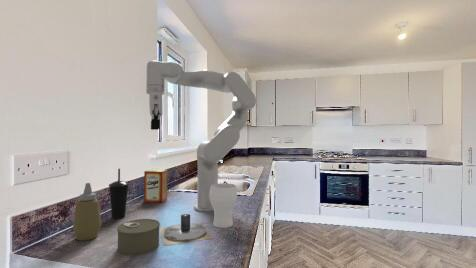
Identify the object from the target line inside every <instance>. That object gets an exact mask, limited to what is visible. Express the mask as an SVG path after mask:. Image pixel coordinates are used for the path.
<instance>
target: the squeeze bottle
mask: <svg viewBox="0 0 476 268" xmlns="http://www.w3.org/2000/svg"><path fill="white" fill-rule="evenodd" d="M101 226H102V220H101V210H100V201H99V200H98V199H97V193H96V192H93V190H92V185H91V182H86V183H85V185H84V189H83V193H80V194H79V200H78V201H77V202H76V203H75V210H74V218H73V226H72V229H73V232H74V235H75V238H76V239H77V241H82V242H83V241H89V240H92V239H95V238H97V236H98V235H99V232H100V230H101Z"/></svg>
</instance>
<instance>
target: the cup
mask: <svg viewBox="0 0 476 268" xmlns="http://www.w3.org/2000/svg"><path fill="white" fill-rule="evenodd" d="M237 190H238V189H237V186H236V184H234V183H226V182H225V183H224V182H223V183H218V184H213V185H211V189H210V202H211V205H212V207H213V209H214V211H213V215H214V216H213V221H212V222H213V223H212V225H213V226H214V227H216V228H225V229H226V228H230V227H232V226H233V225H234V220H233V211H234V207H235V205H236V203H237V199H238V191H237Z"/></svg>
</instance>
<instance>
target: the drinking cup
mask: <svg viewBox="0 0 476 268" xmlns="http://www.w3.org/2000/svg"><path fill="white" fill-rule="evenodd" d="M117 172H118V173H117V180H116V181H112V182H111V183H108V187H109V195H110V196H109V197H110V209H111V218H112V219H123V218H124V217H125V216H126V209H127V198H128V189H129V186H130V183H129V182H127V181H124V180H121V168H118V169H117Z"/></svg>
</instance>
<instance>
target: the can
mask: <svg viewBox="0 0 476 268" xmlns="http://www.w3.org/2000/svg"><path fill="white" fill-rule="evenodd" d="M160 225H161V223H160V221H158V220H155V219H151V218H142V219H141V218H140V219H133V220H129V221H125V222H123V223H121V224H119V225H118V226H117V228H116V231H117V252H118V253H119V254H121V255H123V256H130V257H131V256H133V257H134V256H135V257H136V256H142V255H146V254H149V253H151V252H153V251H155V250H157V249H158V248H159V246H160V227H161V226H160Z"/></svg>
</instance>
